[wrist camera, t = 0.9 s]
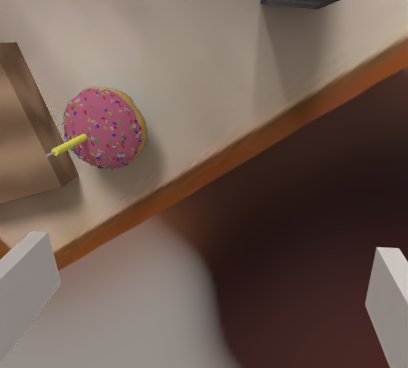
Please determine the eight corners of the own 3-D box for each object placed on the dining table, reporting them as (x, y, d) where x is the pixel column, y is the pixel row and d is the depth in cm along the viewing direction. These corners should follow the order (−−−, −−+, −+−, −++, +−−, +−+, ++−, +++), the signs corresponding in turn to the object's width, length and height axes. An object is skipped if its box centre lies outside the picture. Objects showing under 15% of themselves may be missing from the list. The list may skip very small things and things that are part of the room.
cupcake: (98, 159, 42) (44, 204, 31) (73, 90, 39) (2, 112, 28) (165, 146, 40) (131, 189, 29) (143, 72, 37) (97, 89, 26)
